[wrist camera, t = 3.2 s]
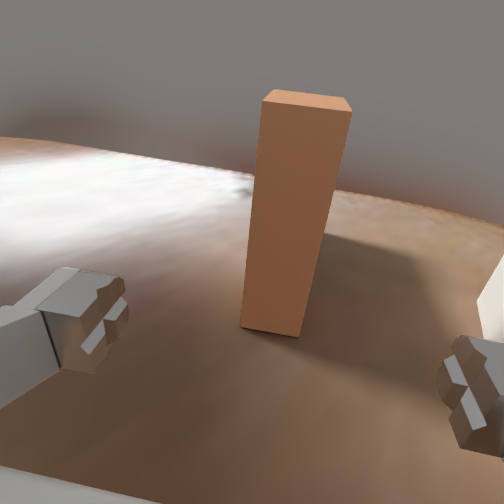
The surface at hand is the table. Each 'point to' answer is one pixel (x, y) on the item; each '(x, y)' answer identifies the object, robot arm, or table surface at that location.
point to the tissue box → (493, 305)
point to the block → (290, 205)
